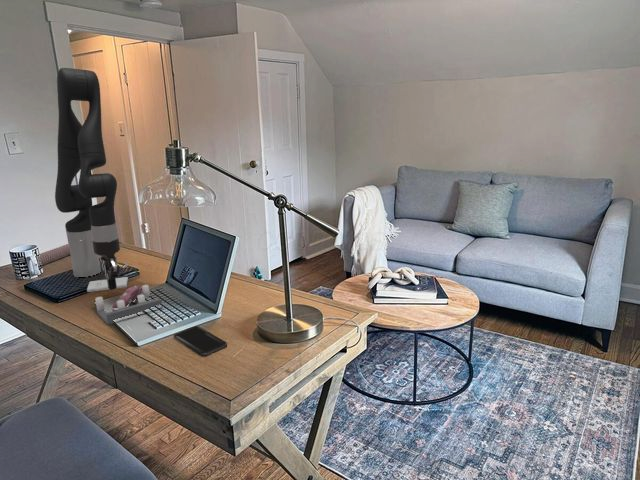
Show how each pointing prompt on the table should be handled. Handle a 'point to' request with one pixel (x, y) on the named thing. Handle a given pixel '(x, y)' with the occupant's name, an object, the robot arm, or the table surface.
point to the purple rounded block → (129, 295)
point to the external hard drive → (106, 284)
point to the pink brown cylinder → (54, 254)
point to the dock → (128, 310)
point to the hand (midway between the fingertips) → (112, 288)
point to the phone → (200, 341)
